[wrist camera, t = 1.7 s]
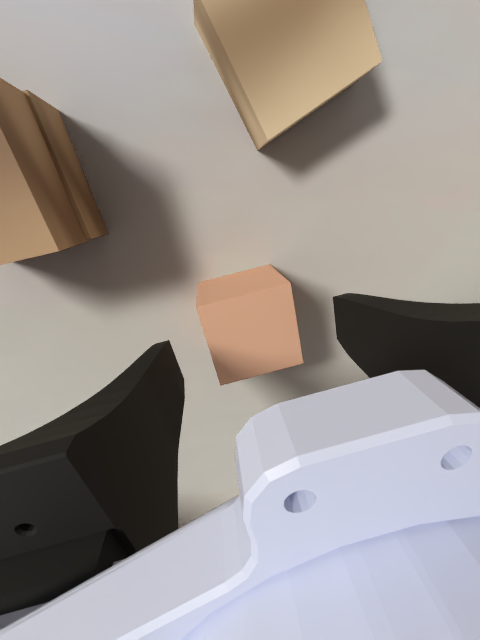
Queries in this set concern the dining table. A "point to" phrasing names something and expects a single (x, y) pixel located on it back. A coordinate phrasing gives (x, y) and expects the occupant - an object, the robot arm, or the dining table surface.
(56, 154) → the tower base
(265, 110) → the slab
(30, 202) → the tower top
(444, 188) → the dining table surface
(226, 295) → the terracotta cube
